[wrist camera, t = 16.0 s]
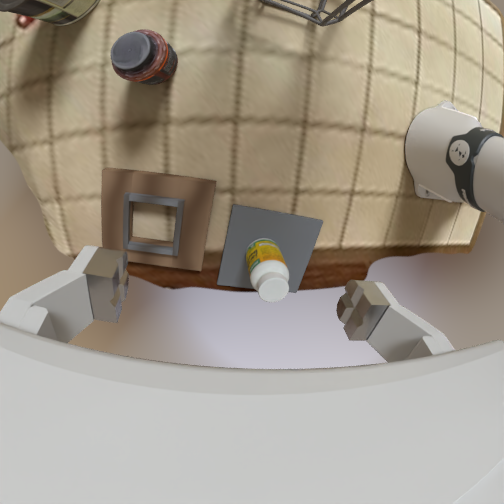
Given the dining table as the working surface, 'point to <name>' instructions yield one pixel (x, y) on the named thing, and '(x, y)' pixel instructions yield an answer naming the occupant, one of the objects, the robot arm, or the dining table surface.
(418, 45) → the dining table surface
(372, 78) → the dining table surface
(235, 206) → the slate mat
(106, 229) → the walnut stand
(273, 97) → the dining table surface
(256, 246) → the supplement bottle
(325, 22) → the geometric lantern
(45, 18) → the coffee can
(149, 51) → the supplement bottle
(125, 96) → the dining table surface
